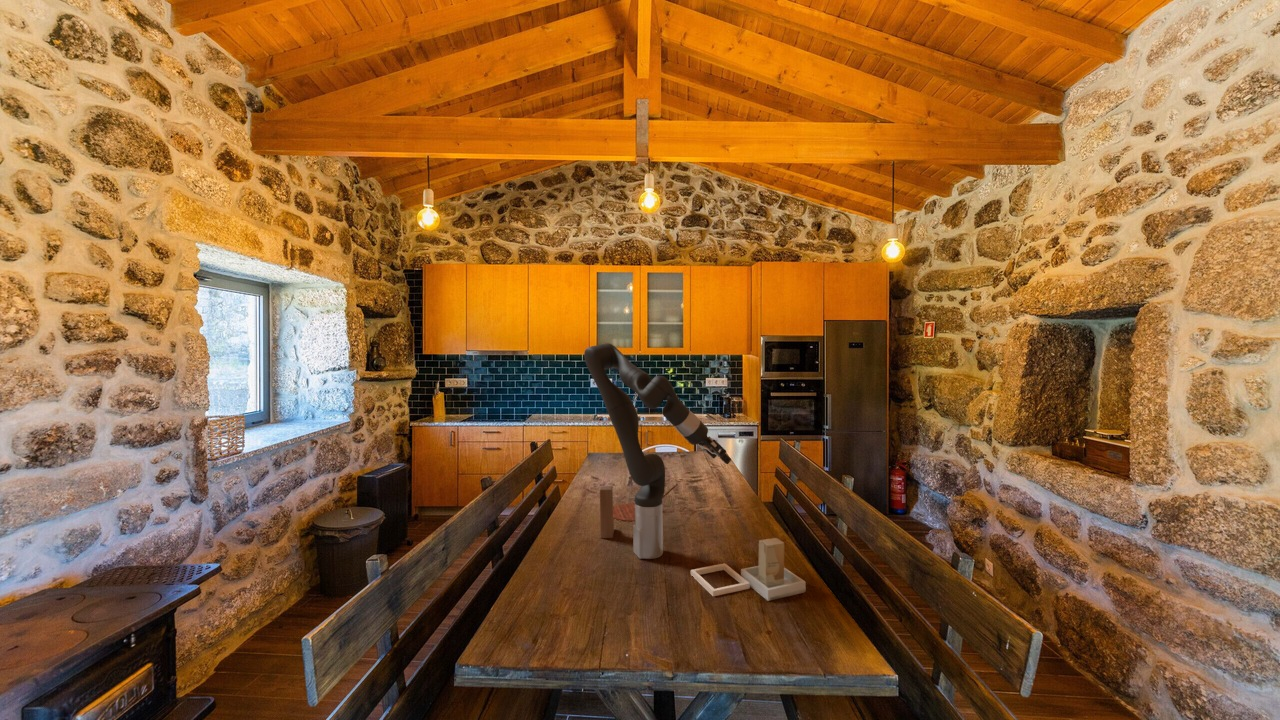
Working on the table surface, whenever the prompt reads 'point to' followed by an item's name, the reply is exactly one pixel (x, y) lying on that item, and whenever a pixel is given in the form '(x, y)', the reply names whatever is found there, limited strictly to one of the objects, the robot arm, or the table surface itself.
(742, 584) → the holder
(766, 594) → the tray
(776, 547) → the skincare box
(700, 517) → the table surface
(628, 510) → the incense holder
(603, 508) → the wooden block
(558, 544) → the table surface
